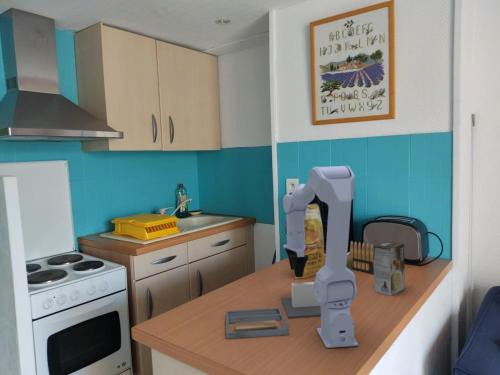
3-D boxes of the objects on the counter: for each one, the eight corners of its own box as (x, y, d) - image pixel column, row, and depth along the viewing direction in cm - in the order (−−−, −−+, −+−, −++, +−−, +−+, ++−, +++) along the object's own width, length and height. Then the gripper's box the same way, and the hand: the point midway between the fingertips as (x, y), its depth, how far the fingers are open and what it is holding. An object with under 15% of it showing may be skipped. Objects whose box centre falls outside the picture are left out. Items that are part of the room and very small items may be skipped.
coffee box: (387, 284, 127) (387, 240, 126) (405, 289, 122) (405, 243, 121) (373, 291, 121) (373, 245, 120) (391, 296, 116) (391, 248, 115)
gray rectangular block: (321, 305, 109) (321, 283, 109) (293, 307, 109) (292, 285, 108) (320, 303, 111) (319, 281, 111) (292, 304, 111) (291, 283, 110)
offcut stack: (279, 335, 94) (279, 326, 94) (234, 338, 93) (234, 329, 93) (277, 328, 98) (277, 319, 98) (234, 331, 97) (234, 322, 97)
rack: (288, 334, 93) (288, 329, 93) (226, 339, 92) (225, 333, 92) (280, 312, 107) (280, 307, 107) (225, 315, 106) (225, 311, 106)
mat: (335, 315, 104) (335, 313, 104) (288, 318, 103) (288, 316, 103) (322, 297, 118) (322, 295, 118) (281, 299, 117) (281, 298, 117)
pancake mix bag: (284, 277, 139) (282, 206, 137) (319, 267, 150) (318, 202, 148) (296, 281, 133) (294, 208, 131) (331, 271, 144) (330, 203, 142)
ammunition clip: (348, 269, 146) (348, 240, 145) (351, 268, 148) (351, 239, 147) (373, 274, 139) (372, 244, 138) (375, 273, 140) (375, 243, 139)
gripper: (279, 227, 120) (280, 267, 121) (287, 236, 106) (288, 281, 107) (300, 226, 121) (301, 265, 122) (310, 235, 106) (311, 279, 107)
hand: (296, 273), depth 114 cm, fingers open, 7 cm apart
